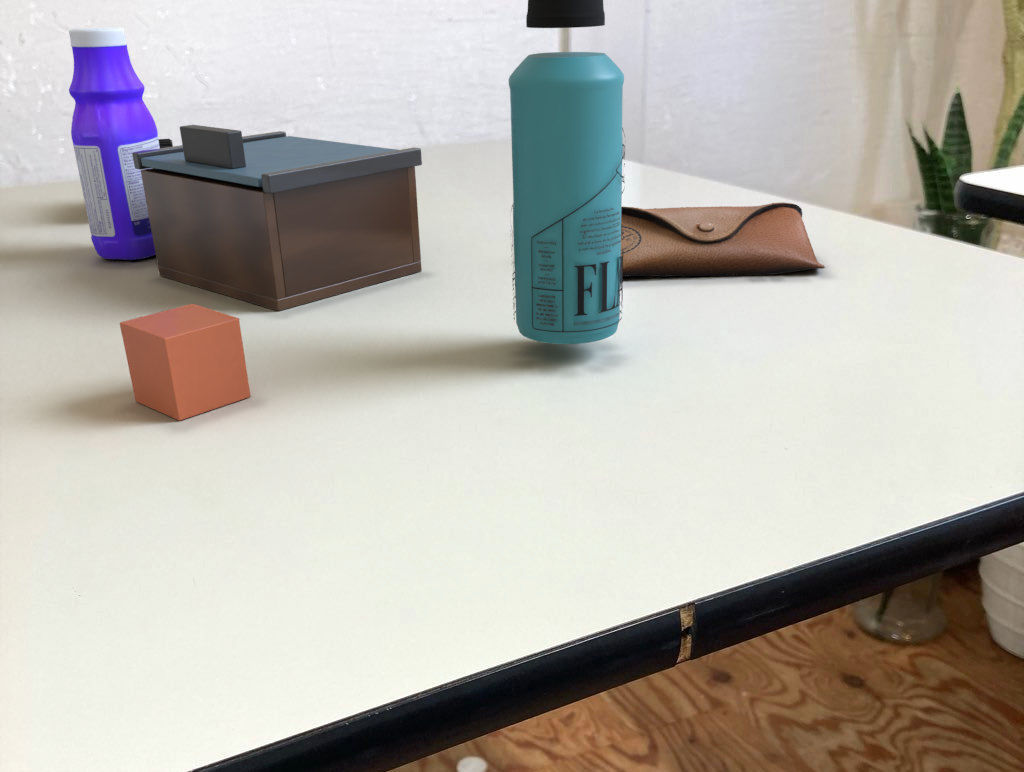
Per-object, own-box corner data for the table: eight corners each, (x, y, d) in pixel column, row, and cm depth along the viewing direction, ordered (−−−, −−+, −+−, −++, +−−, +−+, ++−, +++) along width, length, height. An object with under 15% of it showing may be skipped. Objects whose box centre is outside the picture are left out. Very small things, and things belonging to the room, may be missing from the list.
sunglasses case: (591, 277, 76) (586, 187, 76) (581, 302, 83) (576, 220, 83) (834, 268, 77) (828, 180, 77) (804, 294, 84) (798, 213, 84)
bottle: (129, 243, 92) (88, 26, 84) (188, 244, 91) (152, 25, 83) (83, 263, 86) (33, 31, 78) (146, 265, 85) (102, 30, 77)
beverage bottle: (575, 378, 59) (576, -19, 50) (490, 354, 63) (476, -17, 54) (643, 348, 63) (656, -22, 54) (560, 328, 67) (558, -20, 58)
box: (153, 274, 82) (131, 152, 78) (293, 242, 91) (280, 131, 87) (285, 313, 72) (267, 175, 67) (429, 272, 80) (421, 148, 76)
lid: (142, 166, 78) (134, 123, 76) (290, 143, 86) (285, 104, 85) (258, 187, 69) (252, 139, 67) (411, 159, 77) (408, 116, 76)
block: (135, 401, 57) (118, 322, 55) (205, 379, 60) (192, 303, 58) (179, 421, 55) (164, 338, 53) (251, 397, 58) (239, 317, 55)
